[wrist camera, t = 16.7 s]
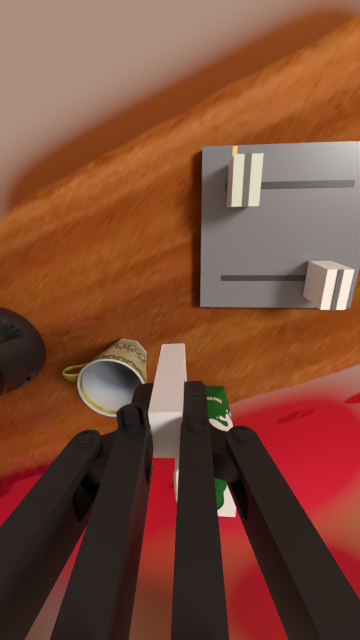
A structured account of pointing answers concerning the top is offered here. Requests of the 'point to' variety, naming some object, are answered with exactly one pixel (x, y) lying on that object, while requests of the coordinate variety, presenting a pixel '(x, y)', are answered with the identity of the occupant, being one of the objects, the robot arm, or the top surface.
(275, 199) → the console
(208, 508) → the robot arm
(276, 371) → the top surface
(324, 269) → the block
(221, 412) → the milk carton
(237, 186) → the fader
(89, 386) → the ceramic cup
